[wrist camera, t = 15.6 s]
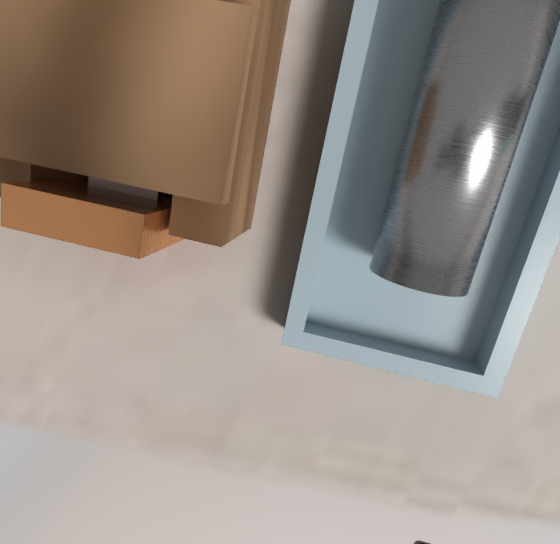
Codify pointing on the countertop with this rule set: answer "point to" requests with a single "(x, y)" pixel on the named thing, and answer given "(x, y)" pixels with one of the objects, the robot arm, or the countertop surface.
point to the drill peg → (461, 139)
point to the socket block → (144, 100)
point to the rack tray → (370, 207)
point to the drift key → (91, 214)
